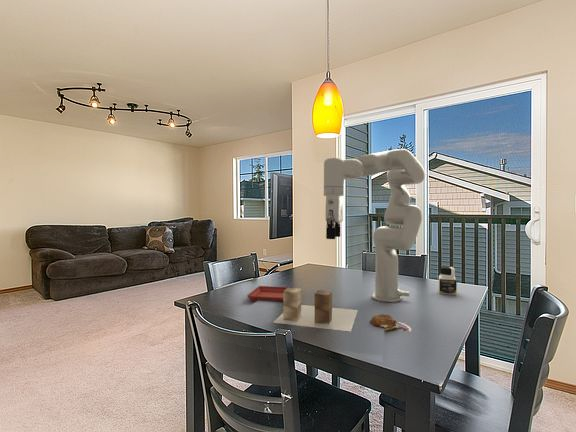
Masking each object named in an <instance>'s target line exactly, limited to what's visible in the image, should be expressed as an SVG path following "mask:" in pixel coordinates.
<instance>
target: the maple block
mask: <svg viewBox="0 0 576 432" xmlns="http://www.w3.org/2000/svg"><path fill="white" fill-rule="evenodd" d="M282 302H283V303H282V305H283V309H282V310H283V312H282V313H283V320H289V321H298V320H299V319H300V318H301V305H302V288H297V287H291V288H287V289H286V290H284V291H283V301H282Z"/></svg>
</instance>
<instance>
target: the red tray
mask: <svg viewBox="0 0 576 432" xmlns="http://www.w3.org/2000/svg"><path fill="white" fill-rule="evenodd" d="M287 288H292V287H289V286H288V287H287V286H267V285H266V286H265V285H259V286H257V287H256V288H255V289H254V290H252V291H251V292H249V293H248V294H247V298H248V299H250V301H251V302H254V303H255V302H258V301H273V302H274V301H275V302H283V291H284V290H286V289H287Z"/></svg>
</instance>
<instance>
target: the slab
mask: <svg viewBox="0 0 576 432" xmlns="http://www.w3.org/2000/svg"><path fill="white" fill-rule="evenodd" d="M358 311H359V310H358V309H349V308H341V307H340V308H339V307H332V321H331V323H330V325H325V324H316V323H315V305H306V304H301V318H300V319H299V320H298V321H289V320H283V312H282V313H281V314H280V315H279V316H278V317H277V318H276V319H275V320H274V321H273V322H272V324H274V323H275V324H282V325H290V326H299V327H309V328H315V329H324V330H325V329H326V330H334V331H342V332H343V331H345V332H352V329H353V326H354V323H355V320H356V317H357V315H358Z"/></svg>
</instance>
